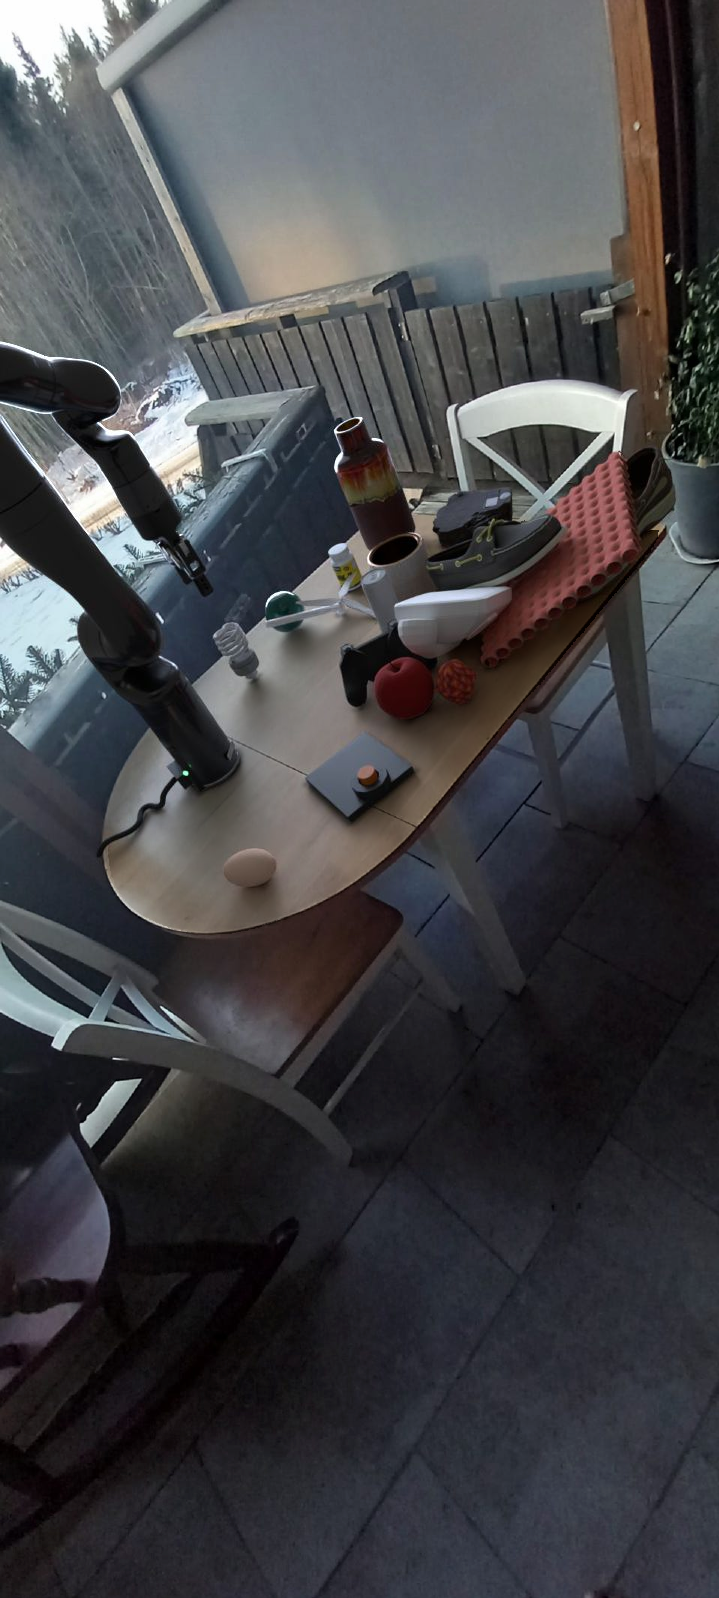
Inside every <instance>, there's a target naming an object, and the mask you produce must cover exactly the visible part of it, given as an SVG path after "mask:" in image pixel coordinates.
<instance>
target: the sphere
mask: <svg viewBox="0 0 719 1598" xmlns="http://www.w3.org/2000/svg"><path fill="white" fill-rule="evenodd" d="M296 601H303V600H302V599H301V597H300V596H299V595H297V594H296V593H294V592H293V591H290V590H280V591H279V590H278V591H276V592H275V593H273V594H271V595H270V596H269V597H268V599H267V601H266V602H265V605H264V609H263V611H264V617H265V621H268V620H272V619H276V618H280V617H284V616H288V615H292V614H296V613H300V612H304V611H306V606H303V605H300V604H296ZM304 621H305V619H303V620H299V621H295V622H291V623H287V624H283V625H279V626H275V627H271V628H272V629H273V630H275V631H277V632H280V633H285V634H287V633H291V632H294V631H296V630H298V629H299V628H300V627H301V626H302V624H303V622H304Z"/></svg>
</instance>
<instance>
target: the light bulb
mask: <svg viewBox="0 0 719 1598" xmlns="http://www.w3.org/2000/svg"><path fill="white" fill-rule="evenodd" d="M212 640H213V641H215V645H216V646H217V649H218V651H219V652H221V655H222V656H224V657H229V658H228V665H229V667H230V669H231V670H232V672H234V674H235V675H236V676H238V677H245V678H246V680H247V679H248V680H253V679H255V678H256V676H257V675H258V670H257V669H258V667H260V660H259V658H258V656H257V654H256V651H254V649H253V648H251V647H249V639H248V638H247V635H246V633H245V632H244V630H243V629H242V627H241V626H240V625H239V623H237V622H226V623H225V624H223V625H222V627H221V628H219V629H218V630H217V631H216V632H215V633H214V634H213V635H212Z"/></svg>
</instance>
